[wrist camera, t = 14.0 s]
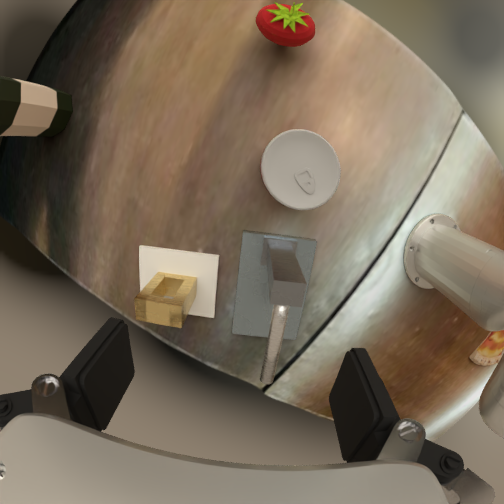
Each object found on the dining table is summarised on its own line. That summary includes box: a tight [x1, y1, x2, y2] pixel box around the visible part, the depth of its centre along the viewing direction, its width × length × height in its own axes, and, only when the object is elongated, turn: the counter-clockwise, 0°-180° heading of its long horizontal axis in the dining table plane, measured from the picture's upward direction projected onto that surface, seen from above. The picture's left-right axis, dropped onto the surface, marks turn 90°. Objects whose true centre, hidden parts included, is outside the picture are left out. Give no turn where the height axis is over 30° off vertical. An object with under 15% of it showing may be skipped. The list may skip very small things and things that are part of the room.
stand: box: [232, 230, 317, 384], centre depth 33 cm, size 10×16×14 cm, turn 173°
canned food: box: [260, 129, 340, 210], centre depth 30 cm, size 8×8×11 cm
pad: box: [139, 245, 219, 318], centre depth 40 cm, size 12×10×1 cm
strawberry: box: [256, 2, 315, 47], centre depth 24 cm, size 6×8×10 cm
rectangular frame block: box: [134, 272, 197, 328], centre depth 35 cm, size 6×3×9 cm, turn 83°
